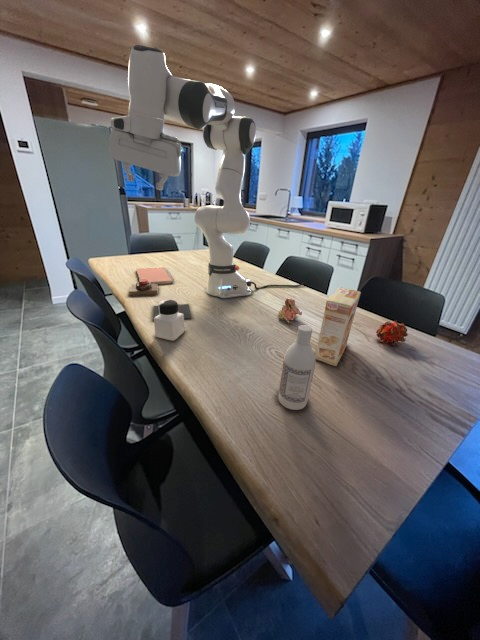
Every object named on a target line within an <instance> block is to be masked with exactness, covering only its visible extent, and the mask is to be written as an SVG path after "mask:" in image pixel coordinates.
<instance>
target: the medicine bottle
mask: <svg viewBox="0 0 480 640" xmlns="http://www.w3.org/2000/svg"><path fill="white" fill-rule="evenodd" d="M178 305H179V303H178V302H177V301H176V300H174V299H164V300H161V301H160V302H159V303H158V305H157V306H159V315H158V316H156V317H155V318H154V321H153V326H154V334H155V337H156V338H160V339H164V340H167V341H171V342H174V341H176V340H177V339H178V338H179V337H180V336H182V335H183V334H184V333H185V319H184V314H182V313H178Z"/></svg>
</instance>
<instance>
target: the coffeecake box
mask: <svg viewBox="0 0 480 640" xmlns="http://www.w3.org/2000/svg"><path fill="white" fill-rule="evenodd" d="M361 294H362V292H361V291H359V290H354V289H350V288H345V287H337V289H336V290H334V292H333V293H332V294H331V295H330V296H329V297H328V298H327V300H326V303H325V308H324V313H323V316H322V322H321V326H320V331H319V335H318V338H317V339H318V340H317V344H316V349H315V352H314V354H315V360H317V361H320V362H323V363H324V364H328V365H331V366H334V367H337V366H338V364H339V362H340V360H341V358H342V356H343V354H344V352H345V350H346V347H347V345H348V342H349V341H348V340H349V337H350V333H351V330H352V326H353V323H354V322H353V321H354V319H355V315H356V311H357V307H358V304H359V301H360V297H361Z"/></svg>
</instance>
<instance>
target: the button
mask: <svg viewBox="0 0 480 640" xmlns="http://www.w3.org/2000/svg"><path fill="white" fill-rule="evenodd" d="M138 282H139V285H148V280H147V279H141V280H139V279H138Z"/></svg>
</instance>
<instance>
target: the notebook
mask: <svg viewBox="0 0 480 640" xmlns="http://www.w3.org/2000/svg"><path fill="white" fill-rule="evenodd" d="M136 274H137V278H138V281H139V280H141V279H147V280H148V282H151V284H158V285H169V284H170V285H171V284H174V281H175V280H174V278H173V276H172V275H171V273H170V272H169V271H168V269H167V268H166V267H164V266H162V267H161V266H159V267H144V268H143V267H141V268H136Z"/></svg>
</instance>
